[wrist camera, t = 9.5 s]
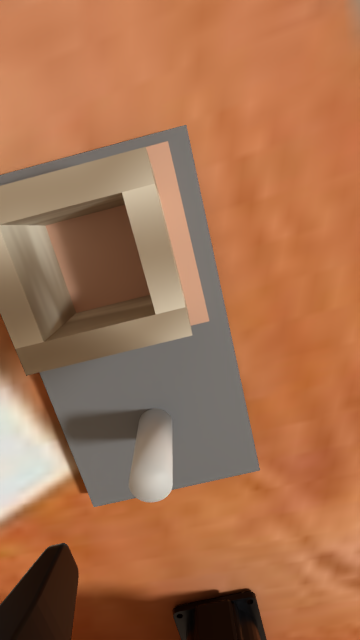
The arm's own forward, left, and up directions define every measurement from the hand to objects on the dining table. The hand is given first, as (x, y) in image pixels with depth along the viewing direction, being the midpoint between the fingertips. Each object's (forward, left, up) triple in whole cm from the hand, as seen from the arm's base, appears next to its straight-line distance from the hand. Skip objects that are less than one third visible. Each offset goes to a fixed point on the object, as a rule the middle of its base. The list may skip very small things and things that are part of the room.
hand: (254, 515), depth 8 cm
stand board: (+1, +4, -12) cm, 13 cm away
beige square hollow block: (+6, +4, -11) cm, 13 cm away
